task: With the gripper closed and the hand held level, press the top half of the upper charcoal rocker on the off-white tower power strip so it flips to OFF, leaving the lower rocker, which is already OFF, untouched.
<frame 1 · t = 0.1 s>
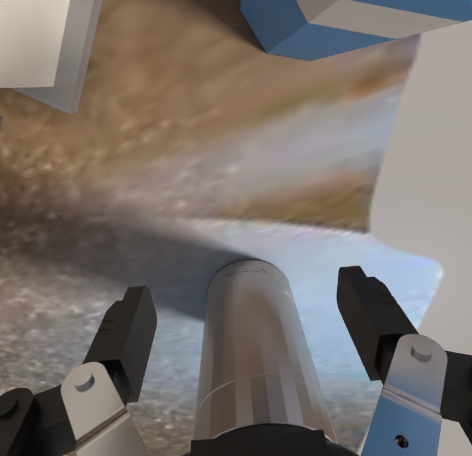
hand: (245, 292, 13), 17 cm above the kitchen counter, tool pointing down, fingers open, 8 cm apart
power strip: (3, 8, 23), on the kitchen counter
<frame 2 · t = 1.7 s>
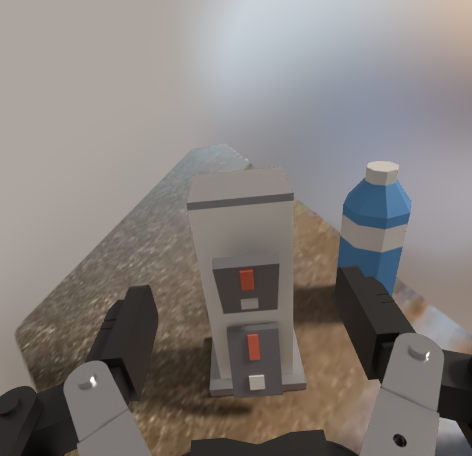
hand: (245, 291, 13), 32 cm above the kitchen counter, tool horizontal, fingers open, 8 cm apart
lower rocker: (255, 361, 37), point 8 cm above the kitchen counter, hinge at -18.0°
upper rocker: (248, 287, 31), point 20 cm above the kitchen counter, hinge at 18.0°
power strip: (255, 360, 47), on the kitchen counter
water bottle: (361, 302, 55), on the kitchen counter
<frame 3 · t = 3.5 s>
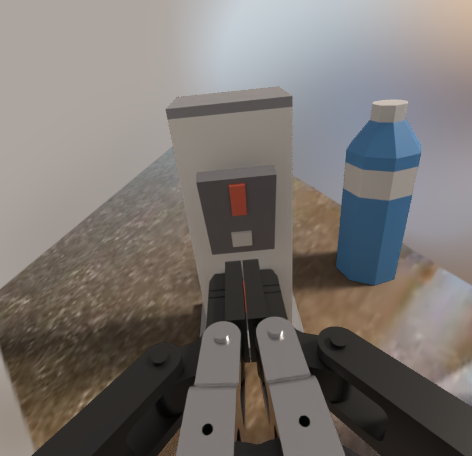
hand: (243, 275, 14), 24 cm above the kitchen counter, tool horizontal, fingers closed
lower rocker: (249, 315, 33), point 8 cm above the kitchen counter, hinge at -18.0°
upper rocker: (239, 215, 27), point 20 cm above the kitchen counter, hinge at 18.0°
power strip: (250, 325, 42), on the kitchen counter
water bottle: (365, 267, 50), on the kitchen counter
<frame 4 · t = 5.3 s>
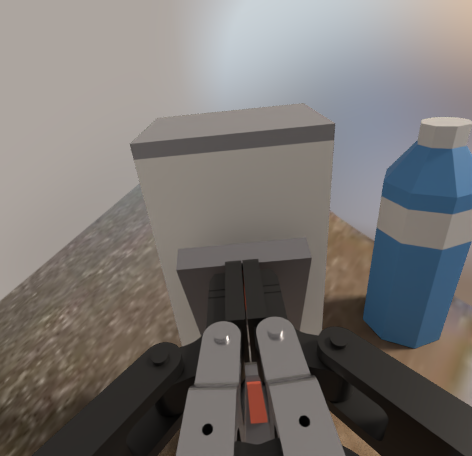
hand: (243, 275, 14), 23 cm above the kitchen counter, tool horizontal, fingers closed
lower rocker: (259, 424, 23), point 8 cm above the kitchen counter, hinge at -18.0°
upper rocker: (247, 304, 17), point 20 cm above the kitchen counter, hinge at 17.7°, touching gripper
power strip: (258, 407, 32), on the kitchen counter
water bottle: (399, 320, 41), on the kitchen counter
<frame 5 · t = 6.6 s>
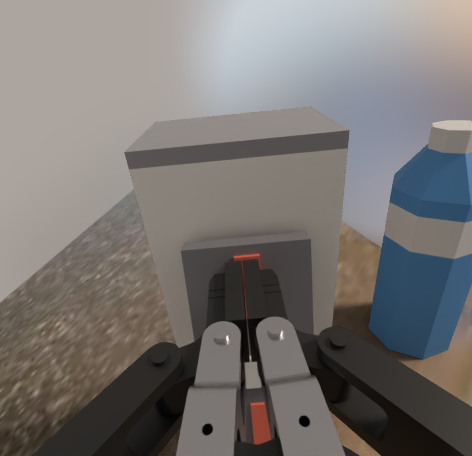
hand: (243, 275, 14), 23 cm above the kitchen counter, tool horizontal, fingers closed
lower rocker: (263, 446, 22), point 8 cm above the kitchen counter, hinge at -18.0°
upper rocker: (252, 324, 16), point 20 cm above the kitchen counter, hinge at -13.6°
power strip: (260, 422, 31), on the kitchen counter
water bottle: (406, 328, 39), on the kitchen counter
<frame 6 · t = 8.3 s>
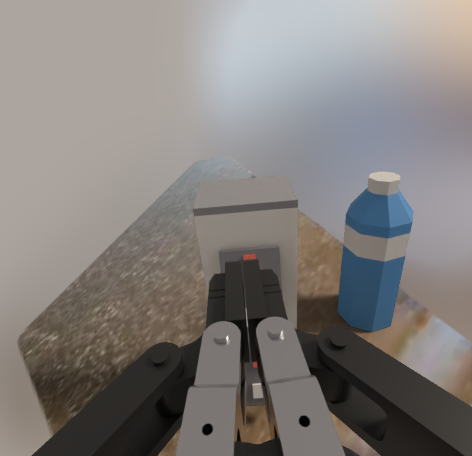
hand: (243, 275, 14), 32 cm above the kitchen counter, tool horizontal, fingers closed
lower rocker: (258, 369, 37), point 8 cm above the kitchen counter, hinge at -18.0°
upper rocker: (252, 292, 32), point 20 cm above the kitchen counter, hinge at -23.0°, touching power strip
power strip: (258, 369, 46), on the kitchen counter
water bottle: (364, 312, 55), on the kitchen counter
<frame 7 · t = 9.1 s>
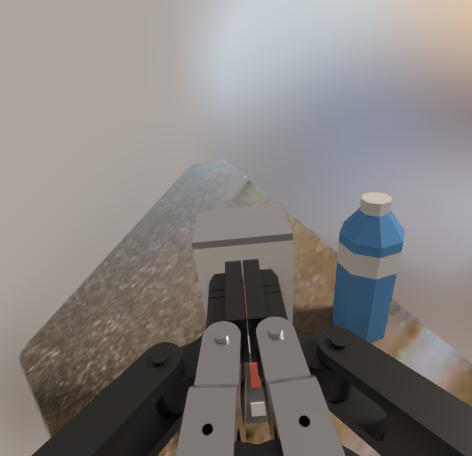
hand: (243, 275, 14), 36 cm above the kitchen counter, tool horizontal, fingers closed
lower rocker: (256, 388, 39), point 8 cm above the kitchen counter, hinge at -18.0°
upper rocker: (249, 320, 33), point 20 cm above the kitchen counter, hinge at -22.1°
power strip: (256, 384, 48), on the kitchen counter
water bottle: (358, 324, 56), on the kitchen counter
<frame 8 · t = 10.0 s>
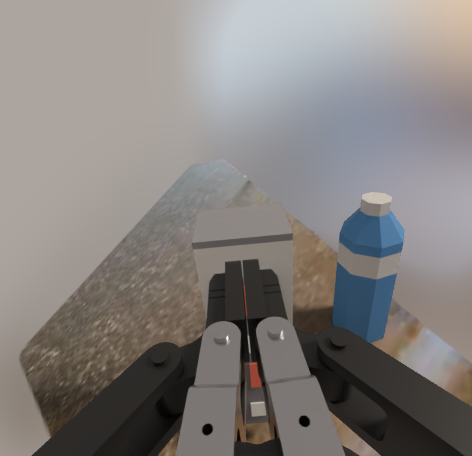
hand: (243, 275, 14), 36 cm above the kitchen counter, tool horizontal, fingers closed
lower rocker: (256, 388, 39), point 8 cm above the kitchen counter, hinge at -18.0°
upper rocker: (249, 320, 33), point 20 cm above the kitchen counter, hinge at -21.6°
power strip: (256, 384, 48), on the kitchen counter
water bottle: (358, 324, 56), on the kitchen counter
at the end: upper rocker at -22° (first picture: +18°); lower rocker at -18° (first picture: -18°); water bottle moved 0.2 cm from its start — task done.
